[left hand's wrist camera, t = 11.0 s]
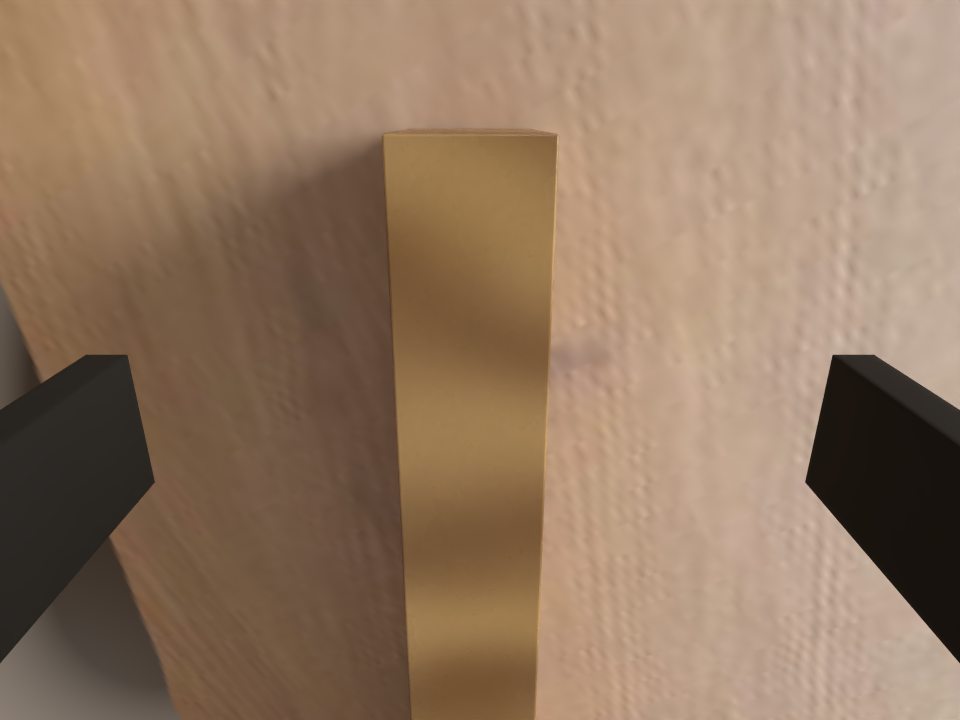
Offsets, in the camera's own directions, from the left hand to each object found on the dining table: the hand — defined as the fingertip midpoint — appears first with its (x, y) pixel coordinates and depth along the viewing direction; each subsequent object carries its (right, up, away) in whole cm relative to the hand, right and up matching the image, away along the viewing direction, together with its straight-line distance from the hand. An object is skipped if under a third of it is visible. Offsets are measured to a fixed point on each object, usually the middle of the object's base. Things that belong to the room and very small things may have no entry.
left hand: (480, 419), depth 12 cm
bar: (0, -15, +20) cm, 25 cm away
